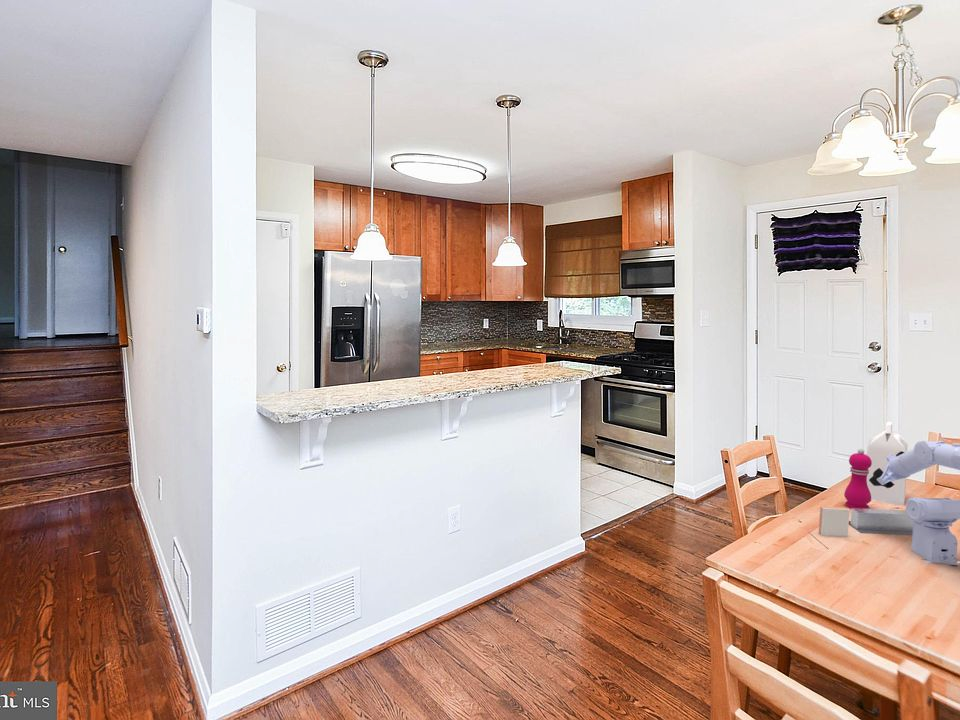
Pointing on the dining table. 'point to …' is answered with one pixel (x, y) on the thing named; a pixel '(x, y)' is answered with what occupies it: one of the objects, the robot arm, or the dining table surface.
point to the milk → (878, 452)
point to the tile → (834, 521)
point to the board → (882, 531)
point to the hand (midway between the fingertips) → (881, 475)
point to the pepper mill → (858, 481)
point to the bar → (881, 519)
